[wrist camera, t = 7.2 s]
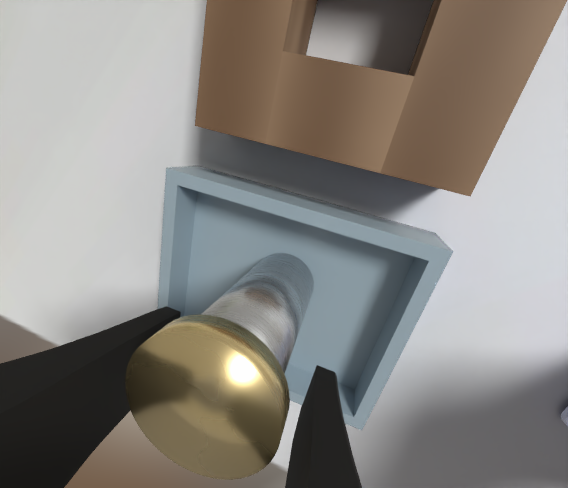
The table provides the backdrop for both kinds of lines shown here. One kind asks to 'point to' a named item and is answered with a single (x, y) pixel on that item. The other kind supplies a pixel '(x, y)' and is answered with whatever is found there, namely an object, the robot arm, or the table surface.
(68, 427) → the robot arm
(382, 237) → the tray
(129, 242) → the table surface
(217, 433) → the pin
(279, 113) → the pin stand
